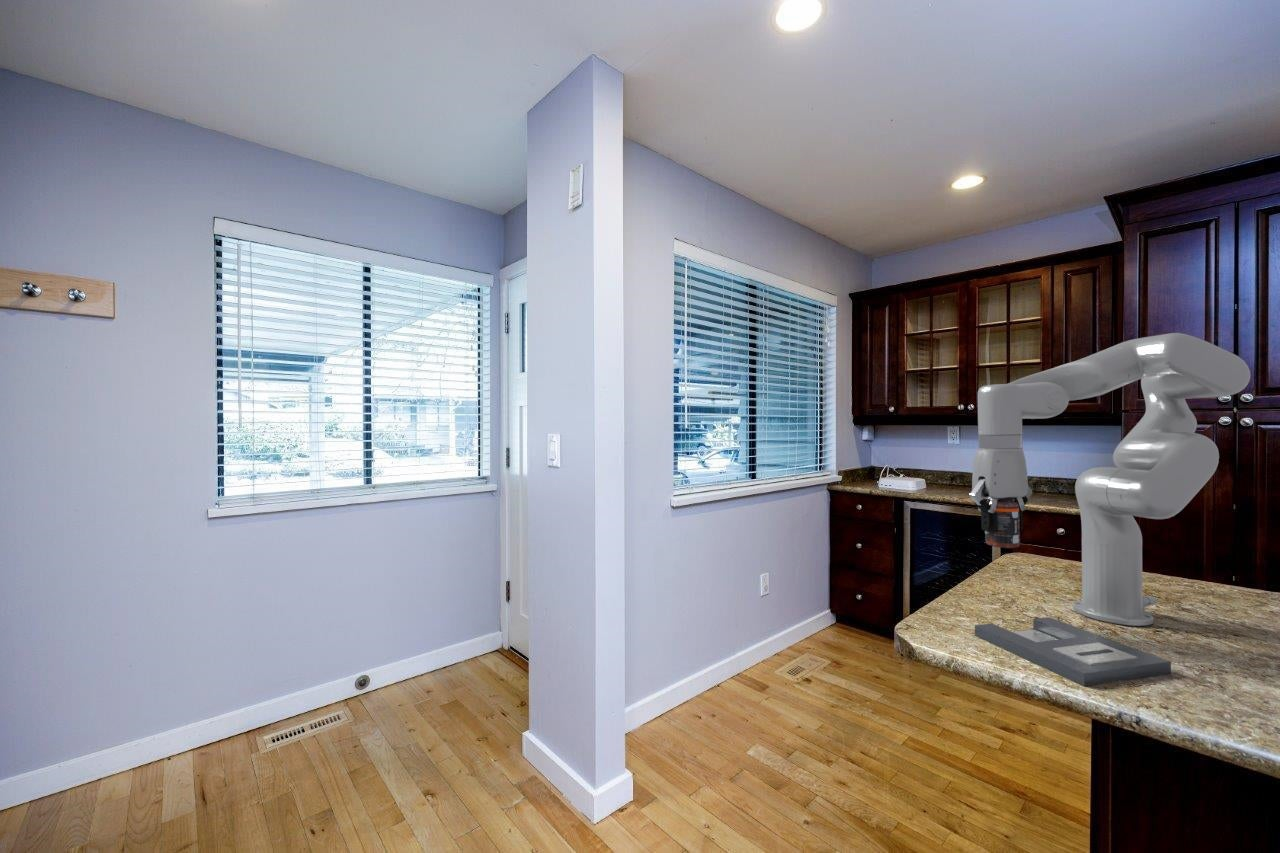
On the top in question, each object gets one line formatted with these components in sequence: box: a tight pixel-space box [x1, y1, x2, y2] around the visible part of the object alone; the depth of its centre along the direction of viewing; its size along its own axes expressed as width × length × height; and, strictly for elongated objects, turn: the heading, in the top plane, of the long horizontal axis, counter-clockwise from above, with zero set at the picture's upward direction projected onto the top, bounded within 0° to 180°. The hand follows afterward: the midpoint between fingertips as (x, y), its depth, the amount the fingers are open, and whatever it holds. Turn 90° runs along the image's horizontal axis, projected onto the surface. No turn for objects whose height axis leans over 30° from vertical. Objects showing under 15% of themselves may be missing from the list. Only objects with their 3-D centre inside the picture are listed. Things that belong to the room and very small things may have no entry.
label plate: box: [974, 617, 1172, 687], centre depth 92 cm, size 18×20×2 cm
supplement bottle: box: [984, 496, 1021, 549], centre depth 107 cm, size 6×6×11 cm
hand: (1002, 529), depth 107 cm, fingers closed on supplement bottle, 6 cm apart
